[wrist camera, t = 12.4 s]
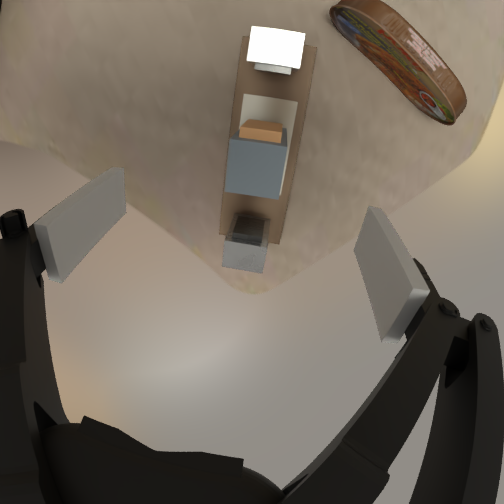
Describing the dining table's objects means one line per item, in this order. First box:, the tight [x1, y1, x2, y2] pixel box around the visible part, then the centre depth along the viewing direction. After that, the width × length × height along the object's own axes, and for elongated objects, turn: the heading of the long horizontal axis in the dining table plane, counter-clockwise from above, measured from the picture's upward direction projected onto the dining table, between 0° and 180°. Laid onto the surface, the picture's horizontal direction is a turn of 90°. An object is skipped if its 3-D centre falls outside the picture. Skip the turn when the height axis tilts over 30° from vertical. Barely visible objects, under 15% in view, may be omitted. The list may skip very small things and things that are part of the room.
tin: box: [329, 0, 467, 125], centre depth 19 cm, size 15×3×8 cm, turn 52°
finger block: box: [225, 119, 287, 200], centre depth 24 cm, size 4×5×9 cm
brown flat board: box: [219, 36, 317, 244], centre depth 28 cm, size 7×22×1 cm, turn 172°
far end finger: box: [222, 213, 271, 273], centre depth 30 cm, size 4×4×6 cm
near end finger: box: [247, 26, 305, 76], centre depth 20 cm, size 4×4×6 cm
